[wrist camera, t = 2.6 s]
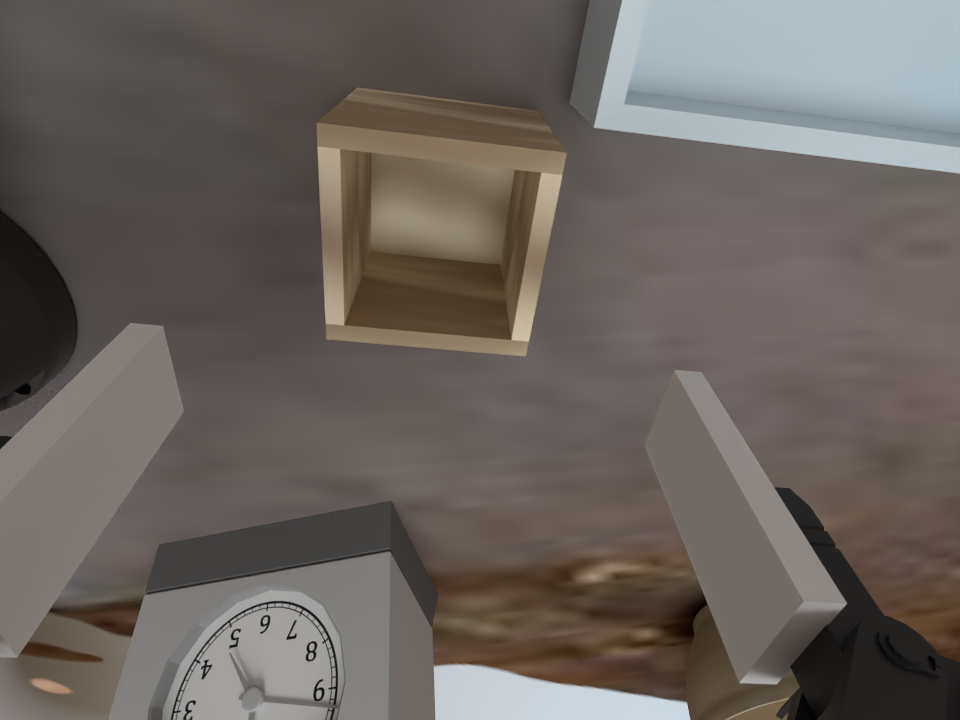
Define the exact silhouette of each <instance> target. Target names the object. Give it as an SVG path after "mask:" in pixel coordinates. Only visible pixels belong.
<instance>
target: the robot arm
mask: <svg viewBox="0 0 960 720" xmlns="http://www.w3.org/2000/svg"><path fill="white" fill-rule="evenodd" d="M75 340H76V321H75V315H74V310H73V307H72V304H71V301H70V298H69V296H68V293H67V291H66V289H65V287H64V285H63V283H62V281H61V279H60V278H59V276H58V274H57V273H56V271H55V270H54V268H53V267H52V265H51V264H50V262H49V261H48V260H47V258H46V257H45V256H44V255H43V253H42V252H41V251H40V250H39V249H38V247H37V246H36V245H35V244H34V243H33V242H32V241H31V240H30V239H29V238H28V237H27V236H26V235H25V234H24V233H23V232H22V231H21V230H20V229H19V228H18V227H17V226H16V225H14V224H13V223H12V222H11V221H10V220H8V219H7V218H6V217H5V216H4V215H2V214H1V213H0V411H3V410H5V409H7V408H10V407H12V406H15V405H17V404H19V403H21V402H23V401H25V400H26V399H28V398H29V397H31V396H33V395H34V394H35V393H37V392H38V391H39V390H40V389H41V388H43V387H44V386H45V385H46V384H47V383H48V382H49V381H50V380H51V379H52V378H53V377H54V376H56V375H57V374H58V373H59V372H60V371H61V370H62V369H63V367H64V366H65V365H66V364H67V362H68V360H69V359H70V357H71V354H72V352H73V349H74V345H75ZM183 413H184V410H183V406H182V402H181V397H180V393H179V389H178V385H177V381H176V377H175V373H174V369H173V365H172V361H171V357H170V353H169V349H168V345H167V341H166V336H165V332H164V328H163V326H159V325H148V324H136V323H130V324H129V325H128V326H127V327H126V328H125V329H124V330H123V331H122V332H121V333H120V334H119V335H118V336H117V337H115V338H114V339H113V340H112V341H111V342H110V343H109V344H108V345H107V346H106V347H105V348H104V349H103V350H102V351H101V352H100V353H99V354H98V355H97V356H96V357H95V358H94V359H93V360H92V361H91V362H90V363H89V364H88V365H87V366H86V367H85V368H84V369H83V370H81V371H80V372H79V373H78V374H77V375H76V376H75V377H74V378H73V379H72V380H71V381H70V382H69V383H68V384H67V385H66V386H65V387H64V388H63V389H62V390H61V391H60V392H59V393H58V394H57V395H56V396H55V397H54V398H53V399H52V400H51V401H50V402H49V403H48V404H46V405H45V406H44V407H43V408H42V409H41V410H40V411H39V412H38V413H37V414H36V415H35V416H34V417H33V418H32V419H31V420H30V421H29V422H28V423H27V424H26V425H25V426H24V427H23V428H22V429H21V430H20V431H19V432H18V433H17V434H16V435H15V436H14V437H7V436H0V657H18V655H19V654H20V652H21V651H22V649H23V648H24V647H25V645H26V644H27V642H28V641H29V639H30V638H31V636H32V635H33V633H34V632H35V630H36V629H37V627H38V626H39V624H40V623H41V621H42V620H43V619H44V617H45V616H46V614H47V613H48V611H49V610H50V608H51V607H52V605H53V604H54V602H55V601H56V599H57V598H58V596H59V595H60V594H61V592H62V591H63V589H64V588H65V586H66V585H67V583H68V582H69V580H70V579H71V577H72V576H73V574H74V573H75V571H76V570H77V569H78V567H79V566H80V564H81V563H82V561H83V560H84V558H85V557H86V555H87V554H88V552H89V551H90V549H91V548H92V546H93V545H94V543H95V542H96V541H97V539H98V538H99V536H100V535H101V533H102V532H103V530H104V529H105V527H106V526H107V524H108V523H109V521H110V520H111V518H112V517H113V516H114V514H115V513H116V511H117V510H118V508H119V507H120V505H121V504H122V502H123V501H124V499H125V498H126V496H127V495H128V493H129V492H130V491H131V489H132V488H133V486H134V485H135V483H136V482H137V480H138V479H139V477H140V476H141V474H142V473H143V471H144V470H145V468H146V467H147V465H148V464H149V463H150V461H151V460H152V458H153V457H154V455H155V454H156V452H157V451H158V449H159V448H160V446H161V445H162V443H163V442H164V440H165V439H166V438H167V436H168V435H169V433H170V432H171V430H172V429H173V427H174V426H175V424H176V423H177V421H178V420H179V418H180V417H181V415H182V414H183ZM644 446H645V448H646V451H647V453H648V456H649V458H650V461H651V463H652V466H653V468H654V471H655V473H656V476H657V478H658V481H659V483H660V486H661V488H662V491H663V493H664V496H665V498H666V501H667V503H668V506H669V508H670V511H671V513H672V516H673V518H674V521H675V523H676V526H677V528H678V531H679V533H680V536H681V538H682V541H683V543H684V546H685V548H686V551H687V553H688V556H689V558H690V561H691V563H692V566H693V568H694V571H695V573H696V576H697V578H698V581H699V583H700V586H701V588H702V591H703V593H704V596H705V598H706V601H707V603H708V606H709V608H710V611H711V613H712V616H713V618H714V621H715V623H716V626H717V628H718V631H719V633H720V636H721V638H722V641H723V643H724V646H725V648H726V651H727V653H728V656H729V658H730V661H731V663H732V666H733V668H734V671H735V673H736V676H737V678H738V681H739V683H751V684H778V682H779V681H780V680H781V679H782V678H783V677H784V676H785V674H786V673H787V672H788V671H789V670H790V669H791V670H792V672H793V674H794V676H795V678H796V680H797V682H798V684H799V686H800V687H799V688H798V690H797V691H796V692H795V693H794V694H793V695H792V696H791V697H790V698H789V699H788V700H787V701H786V702H785V704H784V705H783V706H782V707H781V708H780V710H779V711H778V713H777V714H776V716H777V717H779V718H780V719H781V720H782V719H783V718H784V717H785V716H786V714H787V713H788V712H789V713H788V716H787V720H960V662H957V661H954V660H951V659H949V658H946V657H943V656H940V655H938V653H937V652H936V650H935V649H934V648H933V647H932V646H931V645H930V644H929V643H928V642H927V641H926V640H925V639H924V638H923V637H922V636H921V635H920V634H919V633H917V632H916V631H914V630H913V629H912V628H910V627H909V626H907V625H906V624H904V623H902V622H900V621H898V620H895V619H893V618H891V617H888V616H884V614H883V613H882V612H881V611H880V609H879V608H878V606H877V605H876V603H875V602H874V600H873V599H872V597H871V596H870V594H869V593H868V591H867V590H866V588H865V587H864V586H863V584H862V583H861V581H860V580H859V578H858V577H857V575H856V574H855V572H854V571H853V569H852V568H851V566H850V565H849V563H848V562H847V560H846V559H845V557H844V556H843V555H842V553H841V552H840V550H839V549H836V547H835V545H836V544H835V543H834V541H833V540H832V538H831V537H830V535H829V534H828V532H826V531H824V526H823V525H822V524H821V522H820V521H819V519H818V518H817V516H816V515H815V513H814V512H813V510H812V509H811V507H810V506H809V505H808V504H806V503H805V502H804V501H803V500H802V499H801V498H800V497H799V496H797V495H796V494H795V493H794V492H793V491H792V490H791V489H790V488H777V487H773V485H772V483H771V482H770V480H769V479H768V477H767V476H766V474H765V472H764V471H763V469H762V468H761V466H760V464H759V463H758V461H757V460H756V458H755V456H754V455H753V453H752V452H751V450H750V449H749V447H748V445H747V444H746V442H745V441H744V439H743V437H742V436H741V434H740V433H739V431H738V429H737V428H736V426H735V425H734V423H733V422H732V420H731V418H730V417H729V415H728V414H727V412H726V410H725V409H724V407H723V406H722V404H721V402H720V401H719V399H718V398H717V396H716V395H715V393H714V391H713V390H712V388H711V387H710V385H709V383H708V382H707V380H706V379H705V377H704V376H703V374H702V372H693V371H681V370H674V371H673V374H672V376H671V379H670V382H669V384H668V387H667V389H666V392H665V394H664V397H663V399H662V402H661V405H660V407H659V410H658V412H657V415H656V417H655V420H654V422H653V425H652V428H651V430H650V433H649V435H648V438H647V440H646V443H645V445H644Z"/></svg>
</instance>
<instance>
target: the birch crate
mask: <svg viewBox="0 0 960 720" xmlns="http://www.w3.org/2000/svg"><path fill="white" fill-rule="evenodd" d="M316 127H317V148H318V170H319V191H320V213H321V234H322V256H323V277H324V298H325V320H326V339H328V340H340V341H352V342H363V343H375V344H387V345H399V346H410V347H422V348H434V349H446V350H457V351H469V352H481V353H493V354H504V355H516V356H526V353H527V348H528V343H529V338H530V334H531V329H532V324H533V319H534V314H535V309H536V304H537V299H538V294H539V289H540V284H541V279H542V274H543V269H544V264H545V259H546V254H547V249H548V244H549V239H550V234H551V229H552V224H553V219H554V215H555V210H556V205H557V200H558V195H559V190H560V185H561V180H562V175H563V170H564V165H565V160H566V155H567V152H566V151H565V149H564V148H563V146H562V145H561V143H560V142H559V141H558V139H557V138H556V136H555V135H554V133H553V132H552V130H551V129H550V127H549V126H548V124H547V123H546V121H545V120H544V118H543V117H542V115H541V114H540V112H539V111H538V110H530V109H523V108H515V107H507V106H499V105H491V104H483V103H476V102H468V101H460V100H452V99H444V98H436V97H429V96H421V95H413V94H405V93H397V92H389V91H382V90H374V89H366V88H358V87H357V88H356V89H355V90H354V91H353V92H351V93H350V94H349V95H348V96H347V97H346V98H344V99H343V100H342V101H341V102H340V103H339V104H337V105H336V106H335V107H334V108H333V109H332V110H330V111H329V112H328V113H327V114H326V115H325V116H323V117H322V118H321V119H320V120H319V121H318V122H316Z"/></svg>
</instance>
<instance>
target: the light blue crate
mask: <svg viewBox="0 0 960 720" xmlns="http://www.w3.org/2000/svg"><path fill="white" fill-rule="evenodd" d="M569 104H570V105H571V106H572V107H573V108H574V109H575V110H576V111H577V112H578V113H579V114H580V115H581V116H582V117H584V118H585V119H586V120H587V121H588V122H589V123H590V124H591V125H592V126H593V127H594V128H600V129H608V130H616V131H624V132H632V133H640V134H648V135H656V136H664V137H672V138H680V139H688V140H696V141H704V142H712V143H720V144H728V145H736V146H744V147H752V148H760V149H768V150H776V151H784V152H792V153H800V154H808V155H816V156H824V157H832V158H840V159H848V160H857V161H865V162H873V163H881V164H889V165H897V166H905V167H913V168H921V169H929V170H937V171H945V172H953V173H960V0H589V5H588V10H587V15H586V20H585V26H584V31H583V36H582V41H581V46H580V51H579V57H578V62H577V67H576V72H575V77H574V82H573V88H572V93H571V98H570V103H569Z"/></svg>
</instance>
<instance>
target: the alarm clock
mask: <svg viewBox="0 0 960 720" xmlns="http://www.w3.org/2000/svg"><path fill="white" fill-rule="evenodd" d="M145 592H146V593H147V594H148V595H145V596H144V599H143V602H142V606H141V609H140V613H139V616H138V619H137V623H136V626H135V630H134V633H133V637H132V640H131V644H130V647H129V650H128V654H127V658H126V661H125V664H124V668H123V671H122V675H121V678H120V681H119V685H118V688H117V692H116V695H115V699H114V702H113V706H112V709H111V712H110V716H109V719H108V720H435V698H434V669H433V668H434V666H433V634H432V628H431V626H432V625H433V619H434V613H435V607H436V601H437V595H438V594H437V592H436V590H435V588H434V586H433V584H432V582H431V580H430V578H429V576H428V574H427V572H426V570H425V568H424V566H423V564H422V562H421V560H420V558H419V556H418V554H417V552H416V550H415V548H414V546H413V544H412V542H411V540H410V538H409V536H408V534H407V532H406V530H405V528H404V526H403V524H402V522H401V520H400V518H399V516H398V514H397V512H396V510H395V508H394V506H393V504H392V502H391V501H388V502H383V503H377V504H372V505H367V506H362V507H356V508H351V509H346V510H340V511H335V512H330V513H325V514H319V515H314V516H309V517H303V518H298V519H293V520H287V521H282V522H277V523H272V524H266V525H261V526H256V527H250V528H245V529H240V530H235V531H229V532H224V533H219V534H213V535H208V536H203V537H198V538H192V539H187V540H182V541H176V542H171V543H166V544H161V545H159V548H158V551H157V554H156V558H155V561H154V564H153V568H152V571H151V574H150V578H149V581H148V584H147V588H146V591H145Z"/></svg>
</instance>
